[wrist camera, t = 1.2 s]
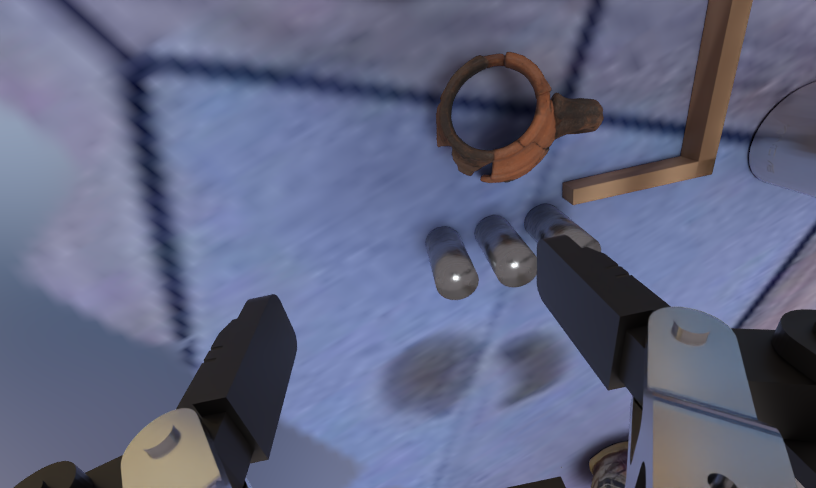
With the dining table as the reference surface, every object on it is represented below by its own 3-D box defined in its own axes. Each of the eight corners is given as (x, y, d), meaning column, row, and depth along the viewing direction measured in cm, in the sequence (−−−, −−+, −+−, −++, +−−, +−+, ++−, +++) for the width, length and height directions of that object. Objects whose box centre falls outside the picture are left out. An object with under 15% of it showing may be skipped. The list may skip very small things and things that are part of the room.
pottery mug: (452, 195, 32) (436, 187, 24) (439, 94, 31) (419, 52, 23) (592, 172, 28) (628, 154, 21) (580, 60, 28) (611, -2, 20)
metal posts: (562, -111, 22) (634, -180, 16) (559, 232, 34) (599, 269, 28) (360, -59, 22) (353, -107, 16) (429, 260, 34) (439, 303, 28)
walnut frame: (745, -84, 23) (775, -96, 21) (693, 168, 32) (711, 174, 30) (565, -39, 24) (580, -48, 22) (562, 197, 32) (573, 205, 30)
